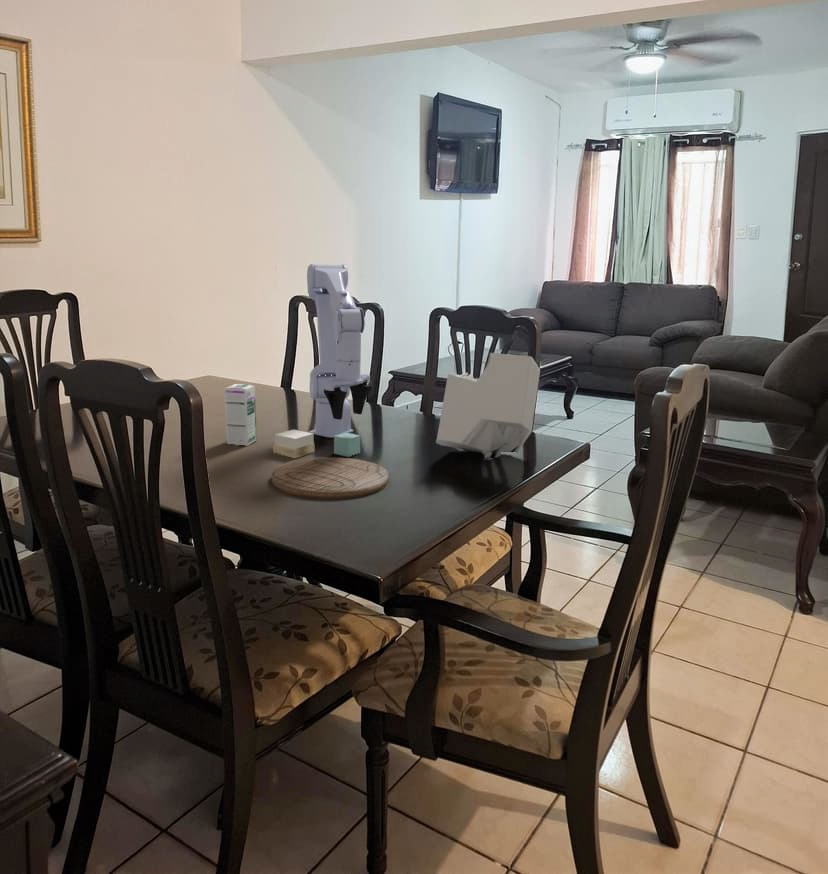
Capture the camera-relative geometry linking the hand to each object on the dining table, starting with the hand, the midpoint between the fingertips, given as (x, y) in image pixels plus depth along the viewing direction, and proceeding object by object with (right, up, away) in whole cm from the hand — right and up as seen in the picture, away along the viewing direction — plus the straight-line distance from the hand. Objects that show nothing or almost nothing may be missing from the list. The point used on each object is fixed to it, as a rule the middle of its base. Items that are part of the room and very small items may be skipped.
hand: (347, 416), depth 188 cm
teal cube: (0, -9, +2) cm, 9 cm away
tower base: (-13, -9, +1) cm, 16 cm away
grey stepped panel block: (+33, -10, +4) cm, 35 cm away
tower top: (-13, -7, +1) cm, 15 cm away
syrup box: (-27, -7, +9) cm, 29 cm away
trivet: (-2, -15, -19) cm, 24 cm away
